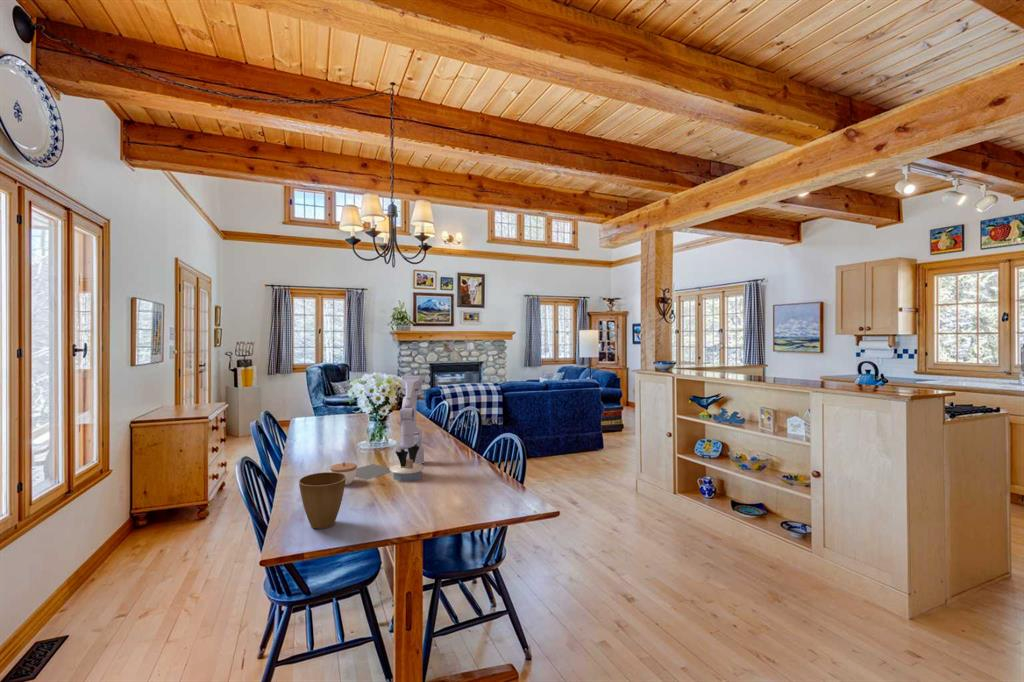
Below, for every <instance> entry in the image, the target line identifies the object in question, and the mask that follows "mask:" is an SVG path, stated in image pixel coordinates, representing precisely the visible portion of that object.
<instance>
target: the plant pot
mask: <svg viewBox="0 0 1024 682" xmlns="http://www.w3.org/2000/svg"><path fill="white" fill-rule="evenodd" d="M345 481H346V476H345V475H344V474H342V473H336V472H331V471H329V472H328V471H326V472H316V473H311V474H308V475H305V476H302V477H301V478H300V479H299V480H298V486H299V491H300V495H301V496H300V497H301V502H302V505H303V508H304V511H305V514H306V518H307V520H308V524H309V525H310V527H311V528H312V527H313V528H312V529H314V528H324V529H328V528H331V527H332V526H334V525H335V523H336V520H337V517H338V514H339V512H340V509H341V505H342V502H343V501H342V500H343V496H344V492H345V486H346V485H345ZM330 526H331V527H330ZM327 527H328V528H327Z"/></svg>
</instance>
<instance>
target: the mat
mask: <svg viewBox="0 0 1024 682" xmlns="http://www.w3.org/2000/svg"><path fill="white" fill-rule="evenodd" d="M389 473H391V472H390V467H387V466H384V465H379V464H374V463H371V464H368V465H365V466H361V467H357V471H356V477H355V478H360V479H363V480H370V479H373V478H376V477H380V476H383V475H386V474H389Z"/></svg>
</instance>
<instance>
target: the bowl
mask: <svg viewBox="0 0 1024 682" xmlns="http://www.w3.org/2000/svg"><path fill="white" fill-rule="evenodd" d="M422 471H423V470H422ZM422 471H419V472H416V473H410V474H397V473H393V480H395V481H398V482H400V481H401V482H400V483H406V482H405V481H410V482H415V481H414V480H416V481H418V480H417V479H419V478H421V479H422V477H423V476H422V475H423V474H422V473H423V472H422ZM419 480H420V479H419Z"/></svg>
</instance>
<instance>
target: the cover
mask: <svg viewBox="0 0 1024 682" xmlns="http://www.w3.org/2000/svg"><path fill="white" fill-rule="evenodd" d="M389 468H390V473H392V474H394V473H397V474H410V473H416V472H419V471H423V470H424V469H425V467H424V464H416V463H413V460H411V459H406V466H405V467H403V466H401V465H400V463H399V464H395V465H392V466H390V467H389Z"/></svg>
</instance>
